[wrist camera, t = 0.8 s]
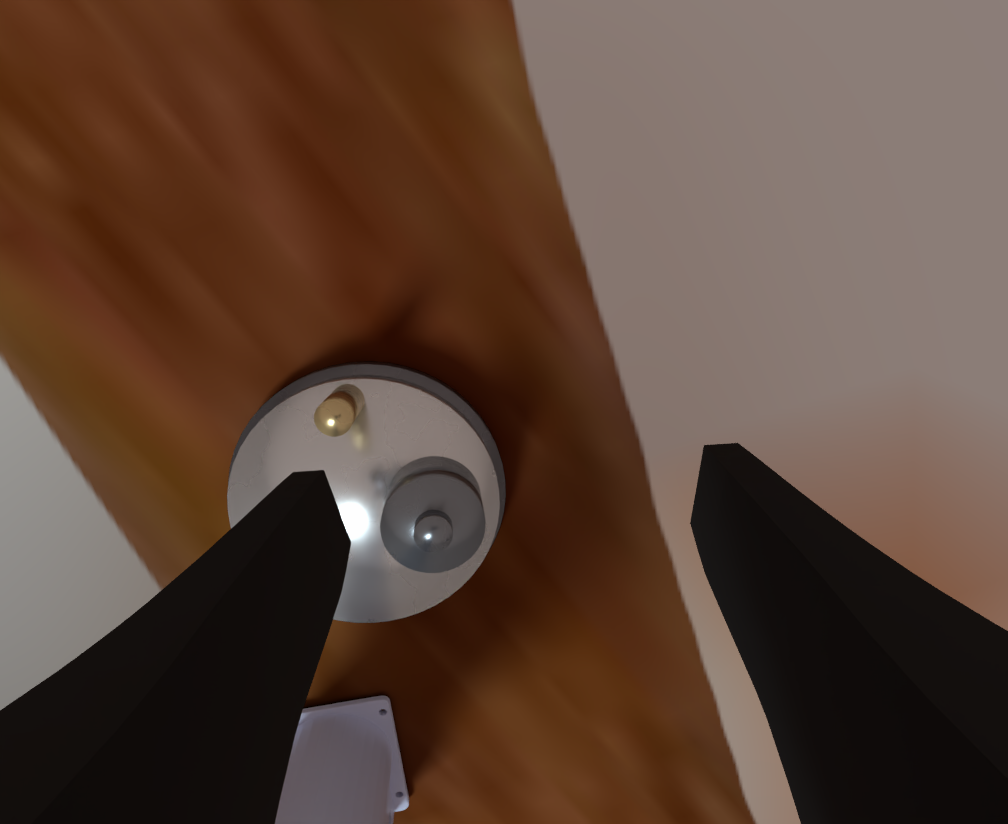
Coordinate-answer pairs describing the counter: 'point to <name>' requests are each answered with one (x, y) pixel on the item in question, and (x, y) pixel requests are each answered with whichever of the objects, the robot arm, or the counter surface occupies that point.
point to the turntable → (366, 478)
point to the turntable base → (394, 372)
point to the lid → (433, 515)
